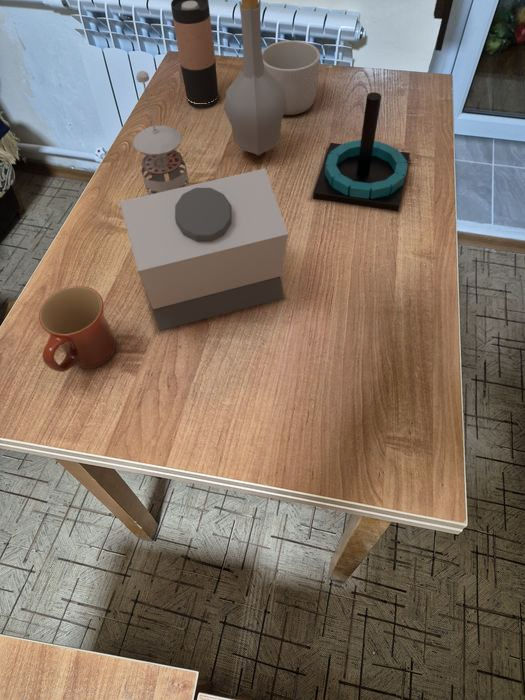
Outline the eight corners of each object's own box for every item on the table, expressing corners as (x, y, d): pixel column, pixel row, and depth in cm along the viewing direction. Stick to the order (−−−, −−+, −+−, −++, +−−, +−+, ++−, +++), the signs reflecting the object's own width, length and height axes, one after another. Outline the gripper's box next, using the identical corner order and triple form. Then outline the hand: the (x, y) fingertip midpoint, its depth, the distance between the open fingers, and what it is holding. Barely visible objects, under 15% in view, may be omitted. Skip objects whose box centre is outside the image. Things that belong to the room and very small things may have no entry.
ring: (408, 154, 101) (410, 145, 99) (400, 203, 93) (402, 194, 91) (333, 145, 103) (334, 136, 102) (318, 192, 95) (319, 183, 94)
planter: (261, 121, 112) (259, 70, 103) (263, 90, 119) (261, 40, 110) (317, 120, 111) (320, 69, 102) (316, 89, 118) (319, 39, 109)
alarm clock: (258, 243, 91) (252, 139, 74) (287, 308, 82) (288, 208, 65) (144, 271, 88) (111, 170, 71) (162, 342, 79) (129, 246, 62)
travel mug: (185, 93, 119) (168, -4, 103) (217, 88, 120) (206, -9, 103) (188, 111, 115) (171, 12, 99) (221, 106, 116) (211, 7, 99)
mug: (83, 323, 82) (60, 279, 73) (132, 336, 80) (114, 293, 71) (42, 384, 76) (11, 345, 67) (94, 400, 74) (69, 362, 65)
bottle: (277, 174, 101) (275, 5, 76) (223, 167, 103) (203, -1, 78) (290, 141, 107) (292, -26, 82) (239, 135, 109) (225, -31, 84)
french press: (148, 226, 94) (109, 93, 73) (144, 186, 101) (107, 54, 80) (200, 217, 95) (177, 83, 74) (193, 179, 101) (169, 46, 81)
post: (408, 159, 102) (427, 76, 89) (398, 211, 94) (417, 128, 80) (329, 148, 105) (336, 67, 92) (312, 198, 97) (317, 116, 83)
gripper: (713, -197, 47) (597, 45, 65) (436, -199, 52) (398, 28, 69) (731, -177, 43) (602, 76, 61) (429, -181, 48) (390, 55, 65)
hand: (493, 50), depth 65 cm, fingers open, 13 cm apart
